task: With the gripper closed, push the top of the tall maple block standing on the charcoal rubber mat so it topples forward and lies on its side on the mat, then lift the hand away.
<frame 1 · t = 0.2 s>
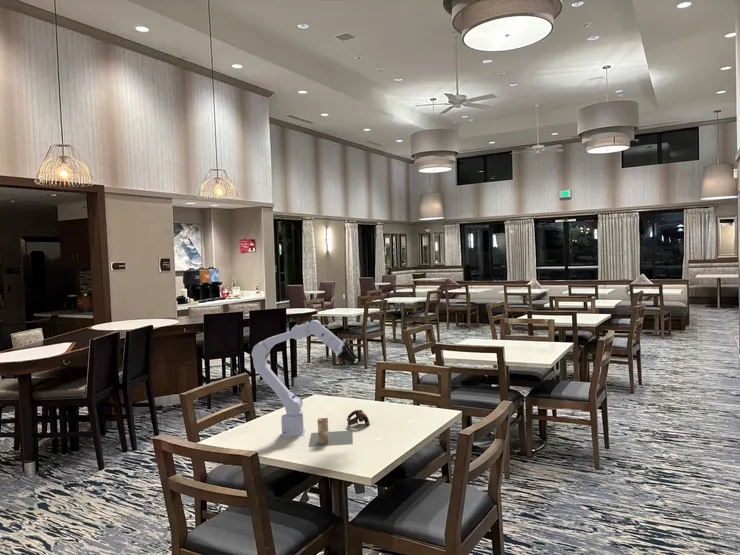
hand: (354, 360, 235), 31 cm above the table, tool tilted 45°, fingers open, 7 cm apart
brown curved piece: (359, 426, 243), on the table
charcoal mat: (331, 439, 226), on the table
maple block: (323, 441, 223), resting on charcoal mat
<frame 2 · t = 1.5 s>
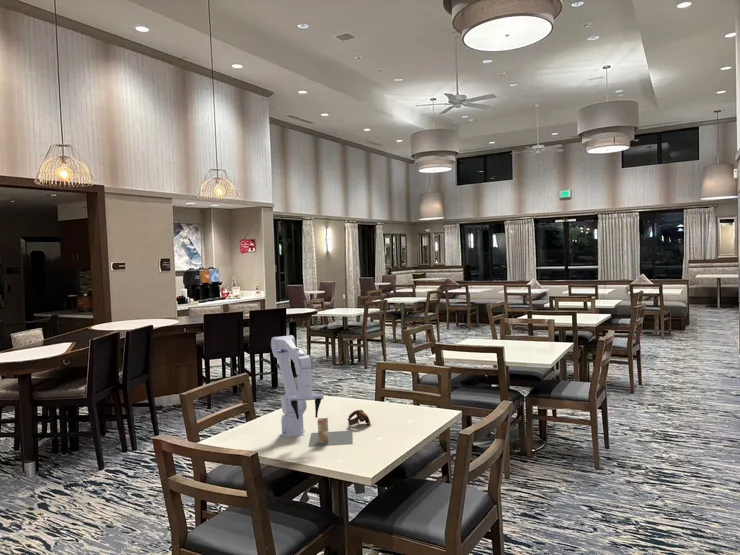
hand: (307, 417, 222), 11 cm above the table, tool pointing down, fingers open, 7 cm apart
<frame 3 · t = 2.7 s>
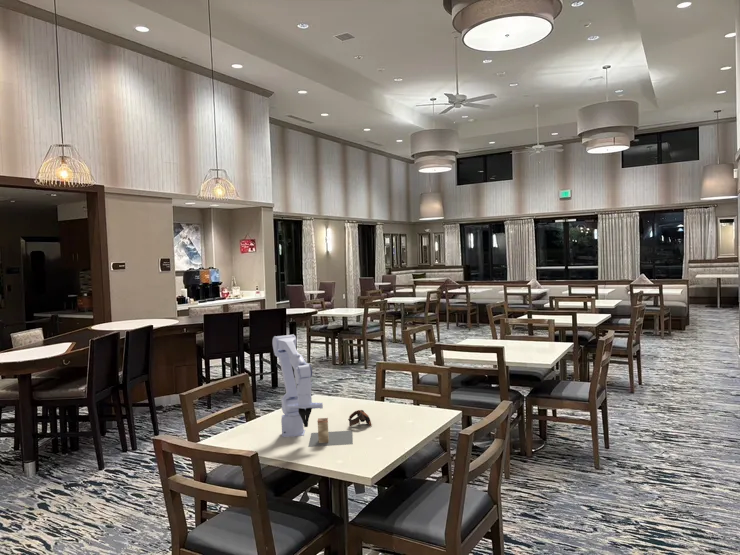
hand: (306, 426, 222), 7 cm above the table, tool pointing down, fingers closed
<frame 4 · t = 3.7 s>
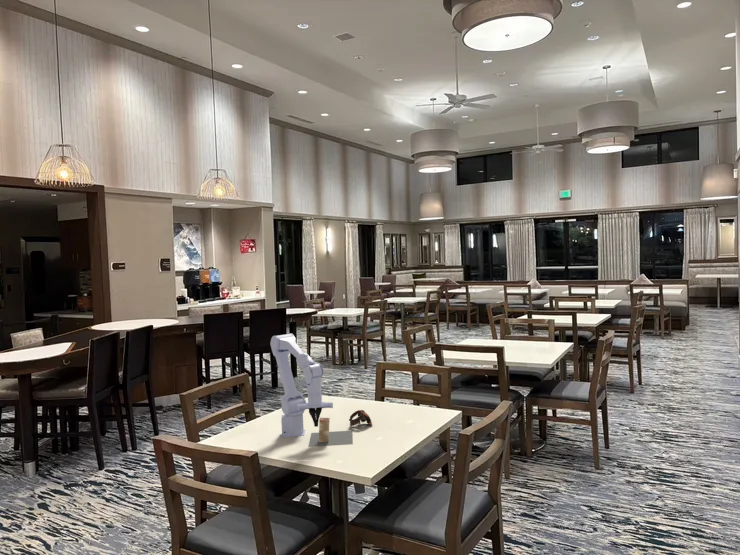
hand: (316, 425, 223), 7 cm above the table, tool pointing down, fingers closed
maple block: (323, 440, 223), point 1 cm above the table, touching charcoal mat, gripper
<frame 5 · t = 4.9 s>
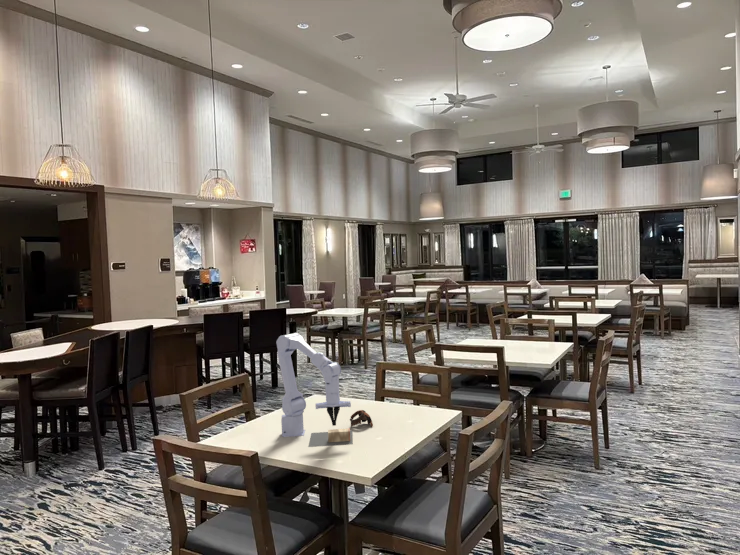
hand: (334, 424, 223), 7 cm above the table, tool pointing down, fingers closed
maple block: (328, 436, 223), point 2 cm above the table, tilted 90°, touching charcoal mat
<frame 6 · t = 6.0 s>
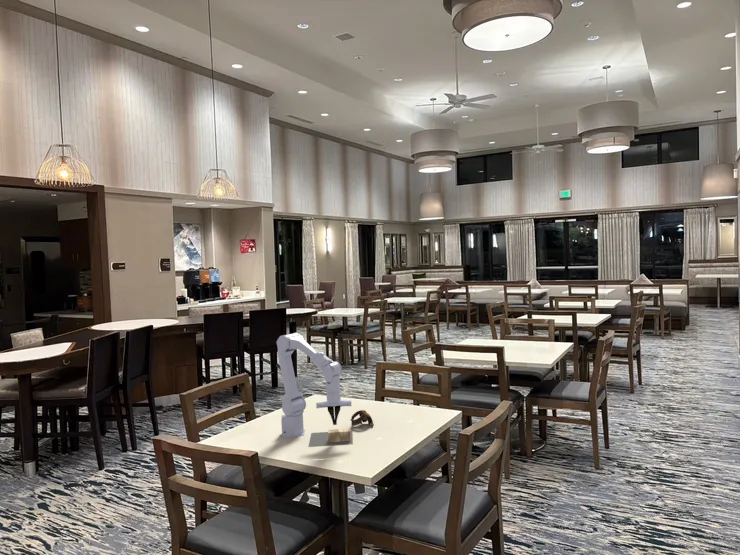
hand: (334, 424, 223), 7 cm above the table, tool pointing down, fingers closed
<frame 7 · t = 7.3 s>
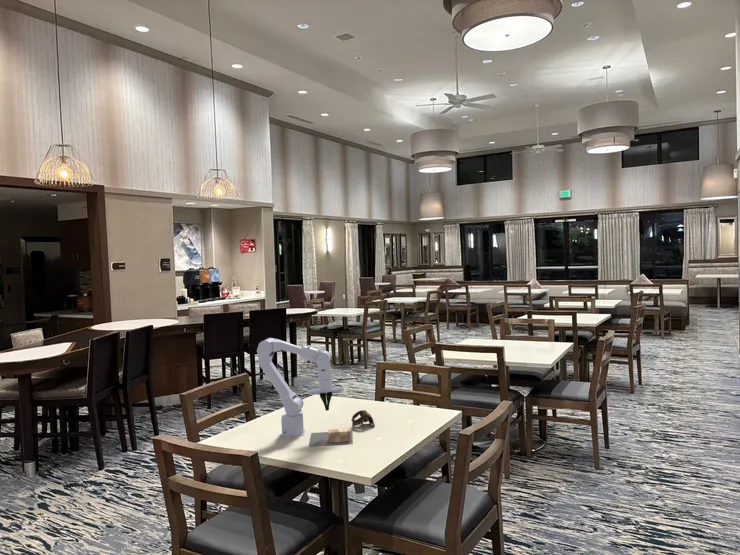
hand: (327, 409, 234), 10 cm above the table, tool pointing down, fingers closed
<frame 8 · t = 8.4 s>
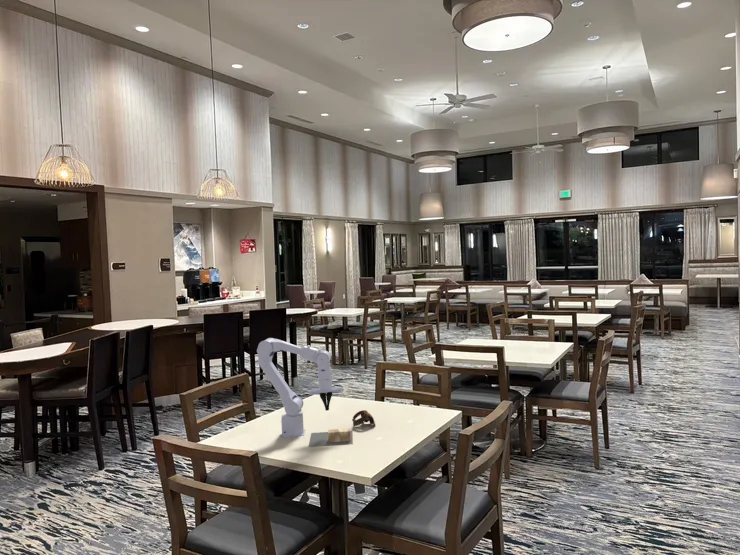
hand: (327, 409, 234), 10 cm above the table, tool pointing down, fingers closed
at the end: maple block tilted 90°; maple block inside the target area (3.0 cm from its centre), point 2.4 cm above the table; maple block touching charcoal mat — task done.
